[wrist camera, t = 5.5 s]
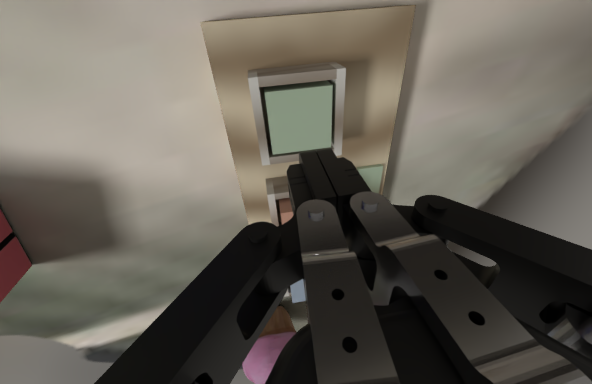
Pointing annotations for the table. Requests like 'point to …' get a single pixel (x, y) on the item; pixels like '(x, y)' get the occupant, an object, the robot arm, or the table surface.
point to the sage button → (299, 116)
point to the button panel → (309, 68)
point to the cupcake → (268, 346)
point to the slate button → (298, 291)
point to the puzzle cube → (10, 258)
